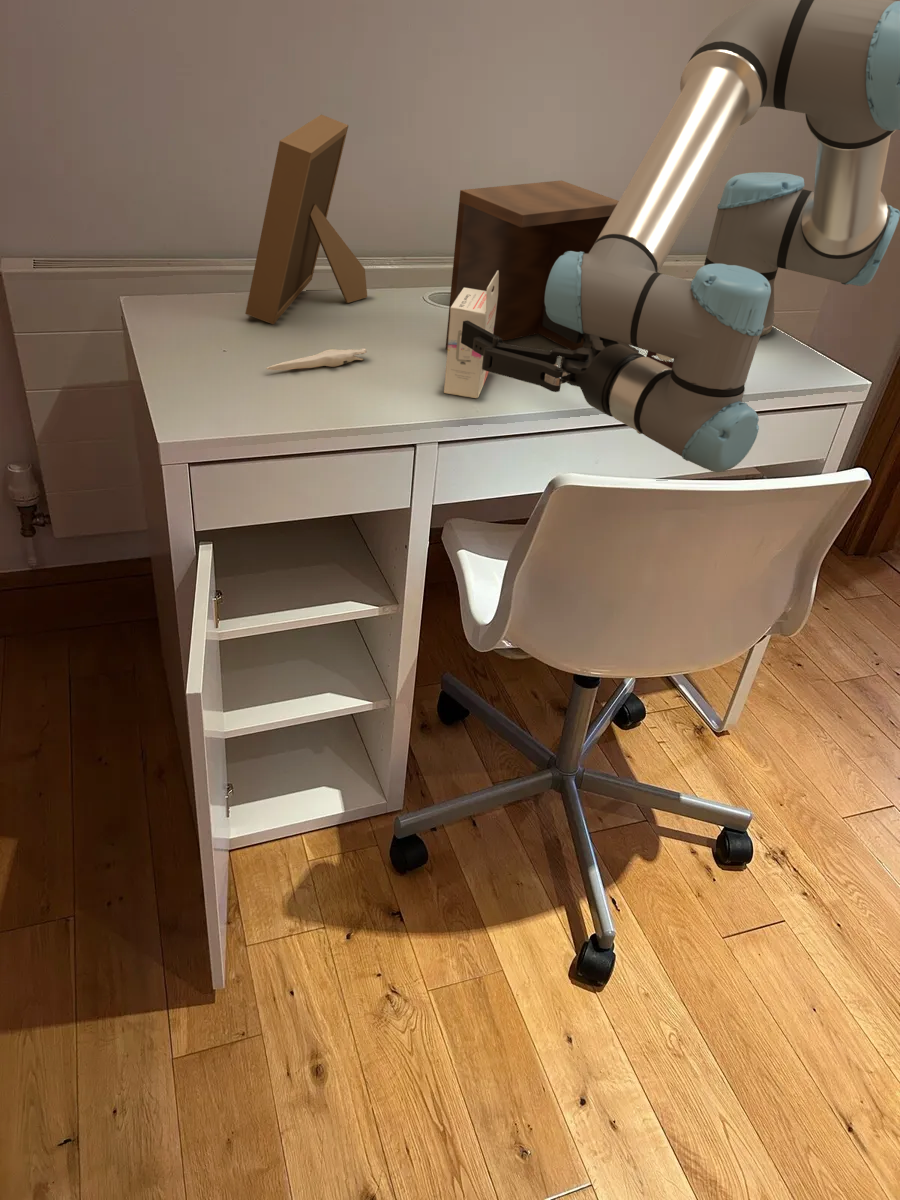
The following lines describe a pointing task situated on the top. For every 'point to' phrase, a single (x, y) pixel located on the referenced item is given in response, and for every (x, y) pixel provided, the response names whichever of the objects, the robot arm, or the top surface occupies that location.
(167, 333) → the top surface
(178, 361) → the top surface
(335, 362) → the beige tapered rod
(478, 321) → the ink cartridge box
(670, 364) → the watch
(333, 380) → the top surface
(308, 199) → the photo frame
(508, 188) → the shelf
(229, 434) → the top surface
